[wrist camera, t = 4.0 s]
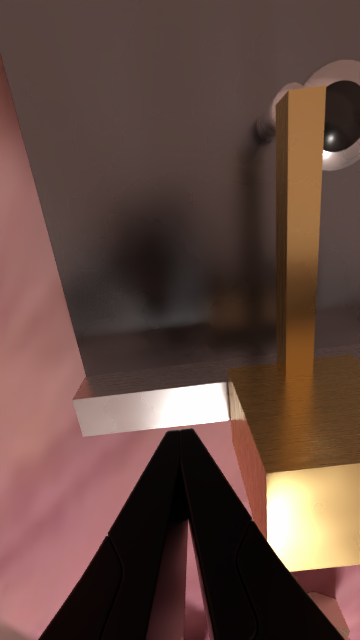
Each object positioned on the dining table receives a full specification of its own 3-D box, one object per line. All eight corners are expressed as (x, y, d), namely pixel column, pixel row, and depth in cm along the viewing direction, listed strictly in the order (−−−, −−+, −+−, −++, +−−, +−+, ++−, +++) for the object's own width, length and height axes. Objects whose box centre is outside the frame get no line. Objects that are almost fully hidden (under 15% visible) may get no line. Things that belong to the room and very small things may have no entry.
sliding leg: (339, 99, 8) (662, -141, 3) (320, 401, 11) (448, 555, 6) (201, 118, 8) (254, -80, 3) (224, 412, 12) (268, 573, 6)
